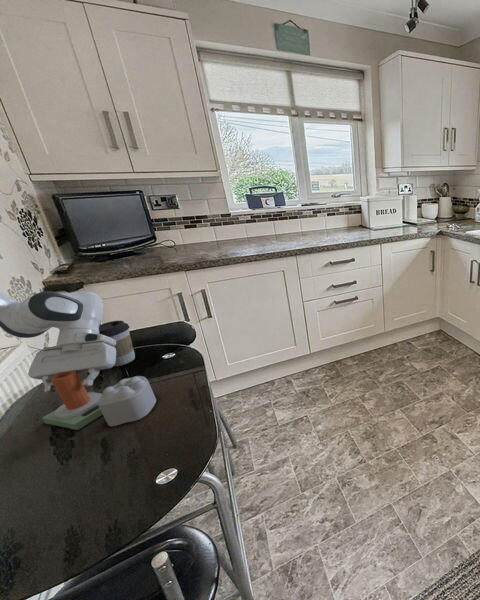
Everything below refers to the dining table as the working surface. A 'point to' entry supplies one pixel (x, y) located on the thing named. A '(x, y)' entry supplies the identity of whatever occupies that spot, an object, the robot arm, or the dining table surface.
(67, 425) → the scale
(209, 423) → the dining table surface
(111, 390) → the lumpy-topped squat cylinder
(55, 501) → the dining table surface
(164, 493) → the dining table surface
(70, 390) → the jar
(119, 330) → the coffee cup
